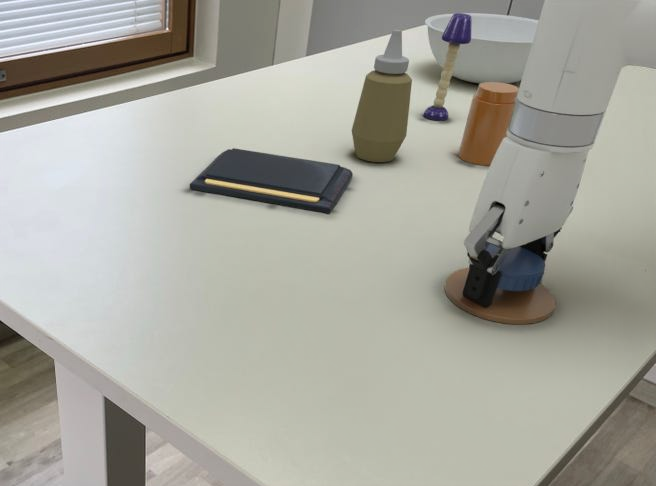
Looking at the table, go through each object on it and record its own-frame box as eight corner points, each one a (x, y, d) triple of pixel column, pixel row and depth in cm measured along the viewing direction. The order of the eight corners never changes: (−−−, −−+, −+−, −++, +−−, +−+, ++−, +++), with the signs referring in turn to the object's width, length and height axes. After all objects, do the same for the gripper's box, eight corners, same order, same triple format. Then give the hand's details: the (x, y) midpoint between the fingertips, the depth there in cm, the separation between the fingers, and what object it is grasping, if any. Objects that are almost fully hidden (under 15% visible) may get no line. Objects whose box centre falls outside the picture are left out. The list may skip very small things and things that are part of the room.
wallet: (357, 163, 103) (330, 202, 92) (354, 175, 104) (328, 215, 93) (226, 141, 109) (186, 175, 98) (225, 153, 111) (186, 188, 99)
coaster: (573, 301, 76) (575, 296, 76) (517, 336, 71) (519, 331, 70) (481, 262, 83) (482, 257, 83) (423, 291, 78) (425, 286, 77)
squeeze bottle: (388, 170, 106) (413, 39, 96) (338, 157, 110) (358, 30, 99) (409, 155, 111) (436, 30, 101) (361, 143, 115) (382, 22, 105)
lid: (454, 268, 76) (459, 252, 75) (497, 253, 79) (502, 237, 78) (511, 298, 71) (517, 281, 70) (554, 280, 75) (560, 264, 74)
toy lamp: (442, 112, 130) (466, 11, 120) (456, 120, 126) (482, 16, 116) (418, 114, 129) (440, 12, 119) (432, 122, 125) (456, 17, 115)
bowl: (412, 89, 142) (423, 35, 136) (416, 57, 163) (426, 9, 157) (561, 104, 135) (579, 47, 130) (545, 69, 157) (561, 19, 151)
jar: (509, 159, 111) (531, 88, 105) (486, 168, 108) (507, 95, 101) (473, 147, 115) (491, 78, 109) (449, 156, 112) (467, 85, 105)
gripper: (571, 99, 73) (518, 257, 83) (459, 127, 65) (416, 298, 75) (644, 120, 68) (578, 285, 78) (533, 153, 60) (476, 332, 70)
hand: (499, 290), depth 76 cm, fingers closed on lid, 7 cm apart
